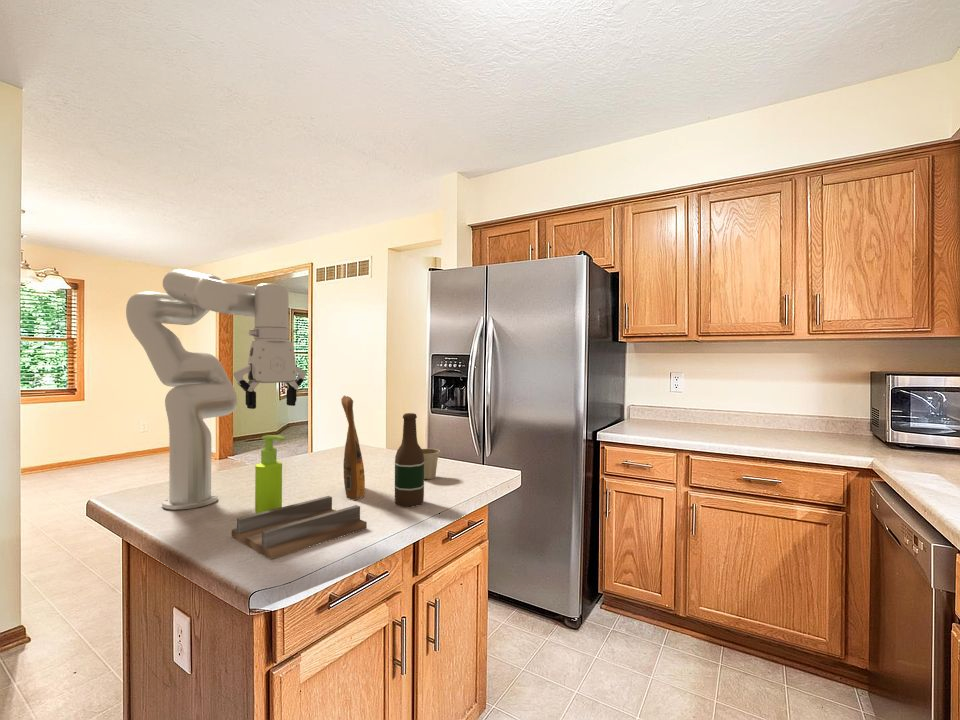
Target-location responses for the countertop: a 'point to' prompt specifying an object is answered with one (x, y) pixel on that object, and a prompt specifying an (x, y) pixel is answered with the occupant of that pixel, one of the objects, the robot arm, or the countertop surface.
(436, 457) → the flower pot
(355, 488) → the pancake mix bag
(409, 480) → the beer bottle
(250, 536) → the track board
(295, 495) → the countertop surface
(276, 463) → the soap dispenser
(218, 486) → the countertop surface
